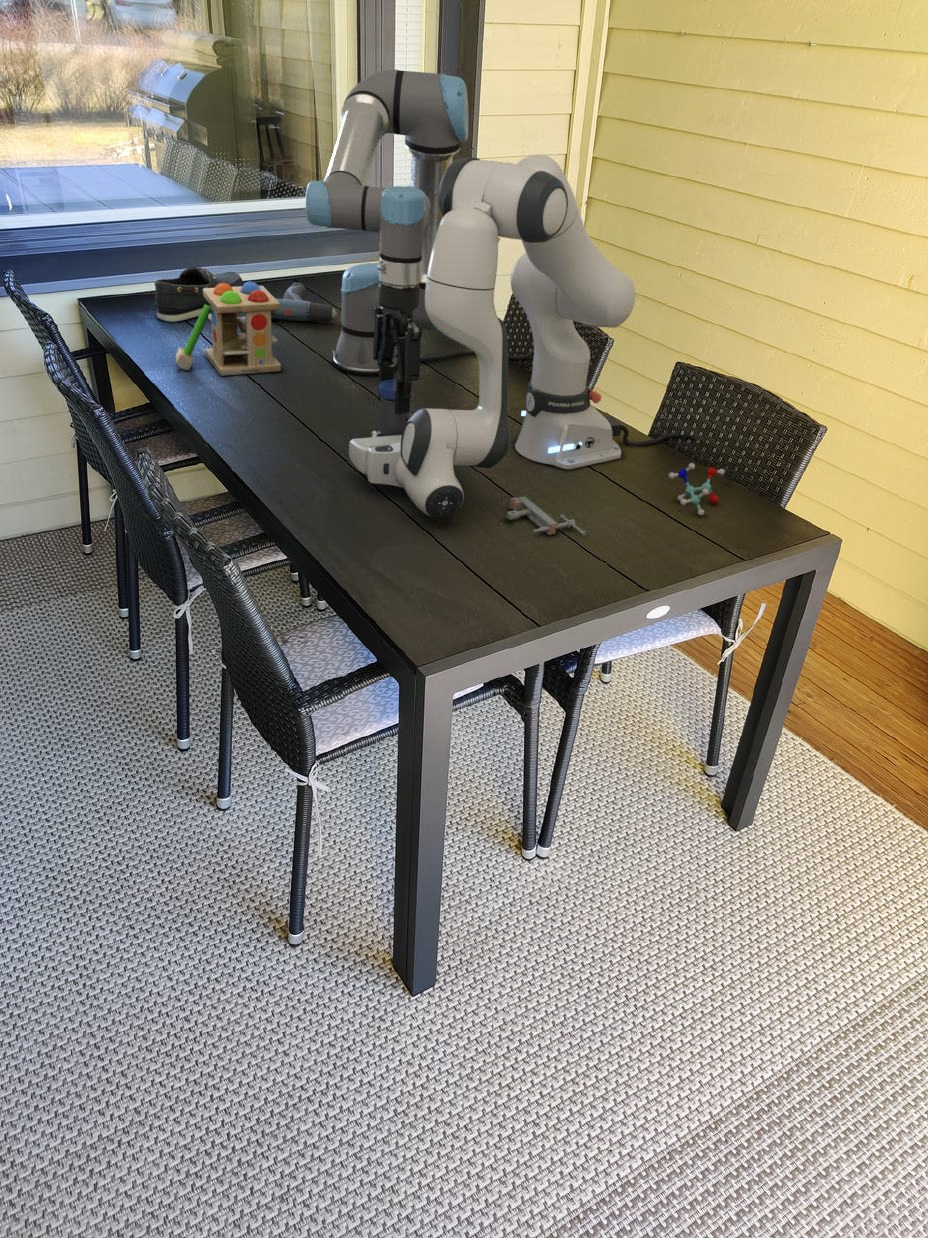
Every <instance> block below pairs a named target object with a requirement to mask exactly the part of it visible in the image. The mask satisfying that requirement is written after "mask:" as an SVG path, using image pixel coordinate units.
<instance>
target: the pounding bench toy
mask: <svg viewBox="0 0 928 1238" xmlns="http://www.w3.org/2000/svg"><path fill="white" fill-rule="evenodd" d="M203 296H204V297H205V299H206V300H207V301H208V302H209V304H210V305H211V307H210V306H208V305H204V307H203V309H202V311H201V314H200V316H198V318H197V320H196V322H195V324H194V327H193V329H192V331H191V332H190V333H191V334H190V336H189V338H188V340H187V343H186V344H185V347H184V348H182V347H180V346H179V347H178V349H177V351H176V354H175V357H174V358H175V362H176V365H177V366H178V368H179V369H182V370H185V371H189V370H190V369H191V367H192V365H193V363H194V356H193V351H194V348H195V347H196V345H197V342H198V340H199V337H200V336H201V333H202V332H203V329H204V326H205V325H206V322H207V320H209V321H210V322H211V336H212V337H211V338H212V339H211V340H212V348H205V349H204V352H205V353H204V355H205V357H206V359H208V361H209V363H210V364H211V365H212V366H213V367H214V369H215V370H216V371H217V372H218V374H219V375H220V376H222V377H223V376H234V375H235V376H236V375H246V374H247V375H250V374H262V373H275V372H281V370H282V364H281V363H280V362H279V360H278V359H277V358H276V357H275V356H274V355H273V348H272V347H273V345H272V344H276V343H278V342H279V341H278V339H277V338H276V337H275V336H274V334H272V318H271V310H280V303H279V302H278V301H277V300H276V299H277V298H276V297H274V296H273V295H272V294H271V293H270V292H269V290H268V289H267V288H266V287H264V285H259V284H257V283H256V282H255V281H247V282H245V283H243V286H242V287H231V286H230V285H228V284H226V283H221V284H218V285H217V286H216V287H215V288H204V289H203ZM238 313H244V314H245V315H244V316H238ZM238 329H239V331H240V333H239V334H238Z"/></svg>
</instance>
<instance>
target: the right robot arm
mask: <svg viewBox="0 0 928 1238" xmlns="http://www.w3.org/2000/svg"><path fill="white" fill-rule="evenodd" d="M439 204H440V209H441V213H442V216H443V218H442V219H441V222H440V224H439V227H438V230H437V233H436V237H435V240H434V244H433V248H432V252H431V256H430V261H429V267H428V273H427V280H426V288H425V309H426V312H427V315H428V317H429V319H430V321H431V322H432V324H433V325H434V326H435V327H436V328H437V329H438V330H437V331H439V332H440V333H442V334H443V335H445V336H446V337H448V338H449V339H451V340H453V341H455V342H457V343H459V344H460V345H463V346H465V347H467V348H468V349H470V350H471V351H474V352H475V354H476V355H475V356H476V358H477V360H478V364H479V365H478V367H479V368H478V369H479V370H478V372H479V373H478V375H479V376H478V379H479V380H478V386H479V387H478V391H479V392H478V398H479V399H478V405H477V407H476V408H474V409H472V410H471V409H449V408H427V407H426V408H423V407H421V408H420V409H418V410H416V411H415V412H414V413H413V414H412V415H411V416H410V418H409V419H408V420H407V422H406V425H405V427H404V429H403V433H402V435H394V436H382V433H381V432H380V430H372V431H371V436H370V437H360V438H358V437H357V438H352V439H350V440H349V444H348V456H349V457H348V458H349V459H350V461H351V463H352V464H353V465H354V466H355V467H356V469H357V470H358V471H359V472H361V474H364V475H366V476H367V481H368V482H369V483H370V484H374V485H375V484H376V485H386V486H387V485H389V486H394V487H397V488H401V489H403V490H405V492H406V494H407V496H408V497H409V499H410V501H411V502H412V503H413V504H414V505H415V506H416V508H417V509H419V510H420V511H421V513H423V514H425V515H427V516H429V517H431V518H445V517H448V516H450V515H451V516H452V514H454V513H456V512H457V511H459V509H460V508H461V506H462V505H463V502H464V499H465V494H464V490H463V487H462V485H461V483H460V481H459V480H458V478H457V476H456V475H455V468H454V466H455V467H456V466H457V467H459V466H463V467H471V468H481V469H492V468H494V467H495V466H497V464H498V463H500V462H501V461H502V460H503V459H504V458H505V456H506V455H507V453H508V452H509V448H510V441H511V440H510V438H511V437H510V436H511V435H510V427H509V419H508V417H509V415H508V384H509V359H508V355H509V349H508V348H509V345H508V344H509V343H508V332H507V328H506V324H505V322H504V321H503V320H502V319H501V318H500V317H498V315H497V311H496V307H495V288H496V281H497V272H498V260H499V242H500V241H501V238H504V239H505V238H506V239H510V240H521V243H522V245H523V248H524V251H525V252H524V253H523V254H521V256H520V257H519V258H518V259H517V260H516V262H515V263H514V265H513V267H512V270H511V274H510V288H511V292H512V295H513V297H514V298H515V299H516V301H518V303H519V305H520V306H521V307H522V309H523V311H524V313H525V315H526V317H527V320H528V322H529V326H530V331H531V333H532V339H533V351H534V355H533V360H532V370H531V372H532V373H531V379H530V380H529V382H528V386H527V392H526V398H525V399H526V400H525V410H521V415H520V416H521V417H524V418H523V422H522V426H521V429H520V432H519V433H518V434H519V435H518V438H517V440H516V442H515V444H514V448H515V450H516V452H517V453H518V454H519V455H521V456H522V457H524V458H526V459H528V460H531V461H533V462H536V463H540V464H545V465H551V466H554V467H557V468H560V469H563V470H573V469H577V468H582V467H587V466H591V465H597V464H599V463H600V464H601V463H605V462H609V461H613V460H619V459H621V458H622V449H621V447H620V446H619V444H618V443H617V442H616V441H615V440H614V438H613V437H620V436H621V433H622V432H623V436H622V442H623V443H624V444H625V445H626V446H629V447H644V446H645V447H646V446H649V445H655V444H658V443H661V442H662V441H664V440H666V439H672V438H673V439H674V438H679V437H683V436H682V435H680V434H679V433H678V432H679V431H678V432H672V433H671V432H670V433H665V434H662V435H660V436H659V437H656V438H654V439H647V440H643V441H637V442H634V441H630V440H628V438H629V434H630V433H629V429H628V427H626V426H625V425H623V424H621V422H619V420H617V419H616V418H615V417H614V416H612V415H605V416H604V415H603V414H602V413H601V412H600V411H599V410H598V409H597V408H596V407H594V406H593V405H592V403H594V404H599V403H600V402H601V401H602V395H601V394H600V393H599V392H597V390H592V389H591V387H589V386H587V381H588V380H587V379H588V373H589V368H590V367H589V366H590V361H591V352H590V348H589V346H588V344H587V342H586V341H585V340H584V338H583V337H581V336H580V334H579V332H578V331H577V329H576V327H575V324H574V322H576V323H580V324H583V325H585V326H586V325H587V326H590V327H595V328H611V329H615V328H618V327H619V326H621V325H622V324H624V322H626V321H627V319H628V318H629V317H630V316H631V314H632V313H633V310H634V308H635V304H636V295H637V294H636V288H635V285H634V282H633V280H632V278H631V277H629V276H628V275H626V274H625V273H624V272H622V271H621V270H620V269H618V268H617V267H616V266H615V265H614V264H613V263H612V262H611V261H609V259H608V258H607V257H606V256H605V255H604V254H603V252H602V251H601V250H600V249H599V247H598V246H597V245H596V244H595V243H594V241H593V240H592V238H591V237H590V235H589V234H588V232H587V229H586V227H585V224H584V220H583V219H582V216H581V212H580V209H579V206H578V202H577V200H576V197H575V194H574V191H573V189H572V187H571V185H570V183H569V180H568V178H567V177H566V175H565V173H564V170H562V168H561V167H560V165H559V163H558V162H557V161H556V160H555V159H554V158H552V157H550V156H548V155H546V154H532V155H528V156H526V157H524V158H522V159H521V160H519V161H518V162H517V163H513V162H510V161H509V162H504V161H497V160H486V159H485V160H484V159H480V158H478V157H462V158H457V159H455V160H452V163H451V164H450V166H449V167H448V168H447V169H446V171H445V172H444V174H443V176H442V179H441V182H440V186H439ZM500 237H501V238H500ZM591 401H592V403H591ZM687 438H690V439H691V440H692V441H695V442H698V441H699V439H698V440H697V439H694V438H692V437H690V436H687Z"/></svg>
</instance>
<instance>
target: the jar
mask: <svg viewBox="0 0 928 1238" xmlns="http://www.w3.org/2000/svg"><path fill="white" fill-rule="evenodd" d="M395 404H396V399H388V398H385V397H383V396H381V402H380V405H379V406H380V407H379V409H380V411H379V431H380V432H381V433H382V436H394V435H402V433H403V429H404V427H405V425H406V423H407V422H408V420H407V419H408V413H403V414H396V413H395Z"/></svg>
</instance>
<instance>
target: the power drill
mask: <svg viewBox="0 0 928 1238" xmlns="http://www.w3.org/2000/svg"><path fill="white" fill-rule="evenodd" d="M307 295H308V290H307V287H306V285H304V284H303V283H301V282H293V283H292V284H291V285H290V286H289V287H288V288H287V289H286V291H285V292H284V294H283V297H282V298H275V299H276V300H277V301H278V302H279V303H280V310H271V319H274V320H275V319H276V320H283V321H294V322H295V321H297V322H332V321H333V320H334V319H336V318H337V317H338V312H337V311H336V308H334V307H333V306H332V305H331V304H324V303H317V302H313V301H307V300H305V299H306V297H307Z"/></svg>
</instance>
